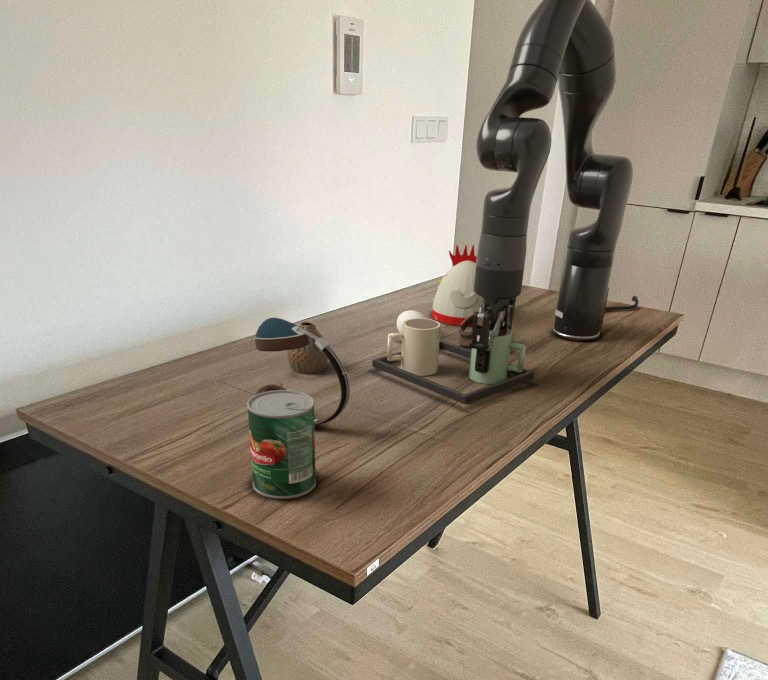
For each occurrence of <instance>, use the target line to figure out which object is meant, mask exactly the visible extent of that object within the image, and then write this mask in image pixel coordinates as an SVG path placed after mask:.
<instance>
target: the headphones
mask: <svg viewBox="0 0 768 680" xmlns="http://www.w3.org/2000/svg"><path fill="white" fill-rule="evenodd" d="M308 333H309V332H307V331H306V330H304V329H303V328H301V327H299V325H297V324H295V323H293V322H291V321H288V320H286V319H283V318H279V317H269V318H266V319H265V320H264V321H262V323H261V324H260V325H259V326H258V327H257V330H256V332H255V335H254V342H255V343H254V344H255V348H256V350H257V351H260V352H273V353H275V352H283V351H287V350H293V349H298V348H302V347H305V346H307V345H308V344H309V338H308V335H309V336H311V337H312V340H313V338H314V339H315V340H316V341H315V344H316V345H317V346H318V349H320V350H321V351H323V352H324V353H325V355H326V356H327V358H328V361H329V362H330V364H331V366H332V367H333V370H334V372H335V374H336V376H337V378H338V383H339V387H340V401H339V403H338V406H337V408H336V410H335V412H334V413H333V414H332V415H330V416H328V417H326V418H323V419H321V420H320V419H319V418H316V419H314V422H315V424H314V427H317V426H322V425H325V424H328V423H330V422H332V421H333V420H335V419H336V418H338V417H340V416H341V414H342V413H343V412H344V410H345V409H346V408H347V405H348V403H349V400H350V396H351V395H350V394H351V386H350V379H349V376H348V371H346V368H345V366H344V364H343V362H342V361H341V358H340V357H339V356H338V355H337V353H336V352H335V351H334V349H333V348H332V347H331V342H329V341H328V340H327V339H325V338H324V337H323V338H324V339H323V338H322V337H321V338H318V337H316V336H315V335H313V334H311V333H309V334H308ZM313 336H314V337H313ZM315 337H316V338H317V339H316V338H315ZM313 346H314V341H313ZM314 349H315V347H314ZM318 349H315V350H318ZM218 382H220V383H222V384H224V385H225V384H226V385H227V386H230V387H233V388H235V389H238V390H241V391H243V392H245V393H249V394H252V395H253V396H255V395H257V394H260V393H263V392H268V391H275V390H287V389H286V388H285V387H283V386H281V385H277V384H266V385H264V386H261V387H260V388H259V389H258V390H256V392H255V393H252V392H249V391H246V390H244V389H241V388H239V387H236V386H234V385H231V384H229V383H226V382H223V381H219V380H218Z"/></svg>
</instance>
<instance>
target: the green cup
mask: <svg viewBox="0 0 768 680" xmlns="http://www.w3.org/2000/svg"><path fill="white" fill-rule="evenodd" d="M489 331H493V330H489ZM477 336H478V335H477ZM512 339H513V331H512V329H511V330H510V329H506V328H501V327H500V329H499V333H498V336H497V337H495V338H494V339H493V344H492V349H491V355H490V364H489V371H488V372H487V373H480V372H476V371H475V361H476V352H477V349H473V348H471V349H470V350H471V359H470V358H469V360H470V361H469V371H468V378H469V379H470V380H471V381H473V382H475V383H479V384H484V385H492V384H495V383H498V382H501V381H504V380H506V379H508V373H509V372H508V370H509V371H514V372H519V373H521V372H522V371H523V368H524V364H525V356H526V349H527V346H526V344H522V343H517V342H512ZM483 340H484V338H483V336H482V338H481V342H483ZM511 349H513V350H519V354H518V361H517V365H515V366H512V365H513V364H512V365H508V364H510V356H511ZM517 366H518V367H517Z"/></svg>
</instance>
